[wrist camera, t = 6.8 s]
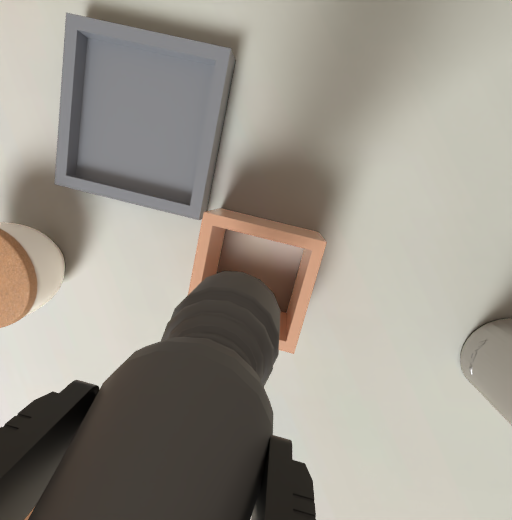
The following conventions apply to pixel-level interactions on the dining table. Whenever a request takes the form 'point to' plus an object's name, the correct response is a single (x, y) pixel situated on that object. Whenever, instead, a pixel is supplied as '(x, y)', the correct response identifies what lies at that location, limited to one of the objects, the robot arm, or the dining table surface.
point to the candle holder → (179, 417)
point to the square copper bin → (272, 230)
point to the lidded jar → (27, 271)
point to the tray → (141, 115)
